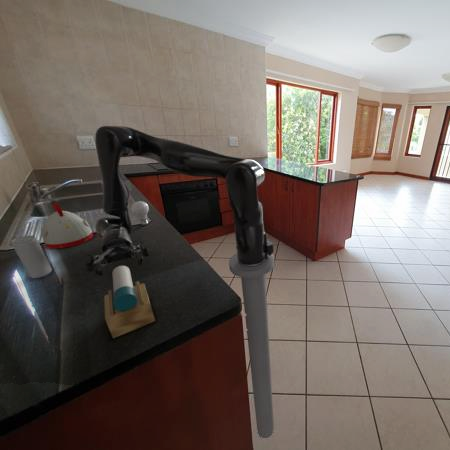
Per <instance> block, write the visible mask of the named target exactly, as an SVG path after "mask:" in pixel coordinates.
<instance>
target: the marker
mask: <svg viewBox="0 0 450 450" xmlns="http://www.w3.org/2000/svg"><path fill="white" fill-rule="evenodd" d="M111 274H112V286H113V287H112V288H113V293H114V294H113V305H114V308H115V309H116V310H119V311H127V310H129V309H131V308H133V307H134V306H135V305H136V303H137V298H136V293H135V290H134V289H133V286H134V284H133V279H132V274H131V270H130V268H129V267H128V266H126V265H118V266H117V267H114V269H113V270H112V273H111Z"/></svg>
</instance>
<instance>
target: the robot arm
mask: <svg viewBox="0 0 450 450" xmlns="http://www.w3.org/2000/svg"><path fill="white" fill-rule="evenodd" d="M94 137H95V138H94V141H95V142H94V143H95V149H96V150H95V151H96V155H97V160H98V165H99V170H100V175H101V181H102V211H103V212H104V213H105V214H106V215H109V216H110V217H109V216H105V217H100V218H99V219H98V220H97V221H96V222H95V225H94V226H95V231H96V233H97V235H98V237H100V238H101V252H100V253H99V254H97V255H93V253H89V254H87V255H86V257H85V260H84V266H85V268H86V270H87V272H88V273H91V272H94V274H95V275H96V276H99V277H101V276H103V275H104V268H106V267H109V266H111V265H112V264H114V263H116V262H119V261H123V260H127V259H128V260H135V259H136V261H137V264H138V266H140V265H142V263H144V262H145V260H144V257H150V256H151V255H150V252H149V247H148V246H147V245H146V243H145V241H140V242H139V244H138V245H134V244H133V241H132V238H131V236H130V235H131V234H132V232H133V223H132V221H131V217H130V214H129V202H130V201H129V199H130V191H129V188H128V186H127V184H126V182H125V180H124V179H123V177H122V175H121V173H120V162H121V159H122V158H129V157H130V158H131V157H140V158H146V159H149V160H153V161H156V162H158V163H159V164H160V165H161V166H162V167H163V168H165V169H167V170H169V171H172V172H175V173H178V174H181V175H185V176H190V177H197V178H199V177H201V178H218V179H223V180H225V186H226V193H227V198H228V203H229V207H230V208H231V210H232V216H233V225H234V236H235V243H236V244H235V245H236V246H235V249H236V253H237V254H238V263H239V264H240V265H242V266H246V267H253V266H258V265H260V264H262V263H263V262H264V261H265V260H266V259H268V255H270V256H271V254H273V253H274V243H272V242H271V241H269V240H268V235H267V233H266V232H265V225H264V210H263V209H264V207H263V204H262V203H261V201H259V196H258V188H259V187H260V186H261V185H263V183H264V181H265V180H266V179H265V178H266V172H265V170H264V168H263V166H261V164H260V163H258V162H257V161H256V160H254V159H250V158H243V157H235V156H231V155H230V156H229V155H224V154H221V153H218V152H214V151H213V150H209V149H206V148H202V147H199V146H196V145H192V144H190V143H185V142H181V141H177V140H173V139H169V138H164V137H163V138H162V137H156V136H154V135H151V134H147V133H145V132H143V131H140V130H138V129H136V128H132V127H129V126H123V125H121V126H120V125H103V126H99V127H98V128H97V129H96V132H95V135H94ZM111 216H112V217H111Z"/></svg>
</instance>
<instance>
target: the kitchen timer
mask: <svg viewBox="0 0 450 450" xmlns="http://www.w3.org/2000/svg"><path fill="white" fill-rule="evenodd" d="M53 210H54V212H52V213H51V214H50V215H49V216H48V217H47V218H46V219H45V221H44V224H43V226H40V233H41V238H42V241H43V243H44V246H45V247H46V248H47V249H64V248H69V247H74V246H77V245H81V244H83V243H86V242H88V241H90V240H91V239H92V238H93V237H94V232H93V230H92V228H91V227H90V224H89V222H88V221H87V219H84V218H82V217H80V216H79V215H77V214H75V213H73V212H71V211H66V210H62V208H61V207H60V204H58V203H57V202H53Z"/></svg>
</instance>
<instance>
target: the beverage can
mask: <svg viewBox="0 0 450 450" xmlns="http://www.w3.org/2000/svg"><path fill="white" fill-rule="evenodd" d="M11 246H12V247H13V250H14V251H15V253H16V254H17V257H18V258H19V260H20V261H21V263H22V265H23V267H24V269H25V271H26V273H27V275H28V276H29V277H30V278H31V279H40V278H43V277H46V276H47V275H49V274H51V272H52V270H53V269H52V267H51V264H50V263H49V261H48V258H47V257H46V255H45V254H46V253H45V252H44V251H43V248H42V245H41V244H40V242H39V240H38V238H37V237H36V236H35V235H24V236H19V237H17V238H14V239H13V240H11Z"/></svg>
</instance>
